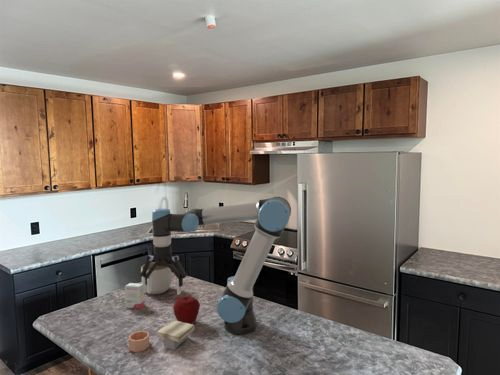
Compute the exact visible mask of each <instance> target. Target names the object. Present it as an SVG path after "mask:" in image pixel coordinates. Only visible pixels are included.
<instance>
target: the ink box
mask: <svg viewBox="0 0 500 375" xmlns="http://www.w3.org/2000/svg"><path fill="white" fill-rule="evenodd" d="M124 299H125V308H126V309H140V310H141V309H142V308H143V307H144V306H145V290H144V284H142V283H136V282H134V283H133V282H129V283H128V284H126V285H125V286H124Z"/></svg>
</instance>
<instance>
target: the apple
mask: <svg viewBox="0 0 500 375" xmlns="http://www.w3.org/2000/svg"><path fill="white" fill-rule="evenodd" d="M200 306H201V304H200V302H199V300H198V299H197V298H196V297H194V296H191V295H186V296H185V295H184V296H181V297H178V298H177V299H176V300H175V302H174V305H173V307H172V309H173V314H174V317H175V319H176V321H180V322H184V323H188V324H193V323H194V324H195V322H196V321H197V318H198V315H199V312H200V311H199V310H200Z"/></svg>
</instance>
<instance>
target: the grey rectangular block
mask: <svg viewBox="0 0 500 375" xmlns="http://www.w3.org/2000/svg"><path fill="white" fill-rule="evenodd" d="M188 338H189V334H188V335H187V336H186V337H185V338H183V339H182V340H181V341H180V342H177V341H173V340H170V339H166V338H163V347H166V348H168V349H172V350H175V349H176V348H177V347H179V346H180V345H181V344H182V343H183V342H185V340H187V339H188Z"/></svg>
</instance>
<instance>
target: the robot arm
mask: <svg viewBox="0 0 500 375" xmlns="http://www.w3.org/2000/svg"><path fill="white" fill-rule="evenodd" d="M291 214H292V207H291V204H290V202H289V200H287V199H285V198H284V197H281V196H273V197H270V198H264V199H263V198H262V199H259V200H258V201H257V202H251V203H249V202H248V203H242V204H231V205H223V206H222V205H221V206H216V207H207V208H193V209H191V210H189V211H186V212H184V213H171V210H170V209H169V208H156V209H154V210H152V213H151V215H152V216H151V218H152V219H151V222H152V244H153V248H152V249H153V255H152V254H149V255H148V256H147V257H146V262H145V263H144V265H145V266H144V268H143V270H142V273H141V272H140V277H141V278H142V277H145V284H146V285H147V292H146V293H147V294H149V293H150V292H151V291H152V282H151V277H149V276H150V274H151V273H152V272H153V271H154V269H155V268H156V267H157V266H159V267H161V266H163V267H166V266H167V267H168V268H170V269H171V273H173V274H174V275H175V276H176V278H177V279H176V295H180V294H181V293H182V287H183V285H184V279H186V277H187V276H188V274H187V272H186V270H185V268H184V266H183V264H182V263H181V261H180V257H179V255H175V256H173V255H172V254H173V253H172V252H173V251H172V250H173V249H172V244H171V243H172V233H173V232H177V233H194V232H197V230H198V228H199V226H208V225H218V224H227V223H236V222H237V223H238V222H239V223H240V222H246V221H255V222H254V225H253V226H254V228H255V231H254V233H253V235H252V238H251V240H250V242H249V244H248V246H247V249H246V251H245V253H244V255H243V258H242V260H241V262H240V264H239V266H238V267H237V268H238V269H237V270H236V273H235V275H234V276H230V277H228V278H227V280H226V281H227V282H226V283H227V284H226V286H225V287H224V290H223V293H222V295H221V297H220V298H219V299H218V301H217V304H216V311H217V314H218V316H219V317H220V318H221V319H222V320H223V321H224V322H223V327H224V330H225V331H226V332H228V333H229V334H234V335H244V334H245V335H246V334H250V333H253V332H254V331H255V330H256V329H257V327H258V322H257V318H256V314H255V312H254V285H255V283H256V281H257V279H258V278H259V275H260V272H261V270H262V269H263V265H264V263H265V262H266V260H267V258H268V255H269V254H270V251H271V249H272V246H273V245H274V242H275V241H276V240H277V239H279V238H281V236H282V234H283V232H284V230H285V228H286V226H287V225H288V223H289V221H290V218H291ZM153 261H154V262H155V263H154V265H153V266H152V267H151V269H150V270H149V271H148V273H147V274H146V272H147V270H148V268H149V265H150V263H152V262H153ZM174 264H175V265H176V266H175V265H174Z"/></svg>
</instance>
